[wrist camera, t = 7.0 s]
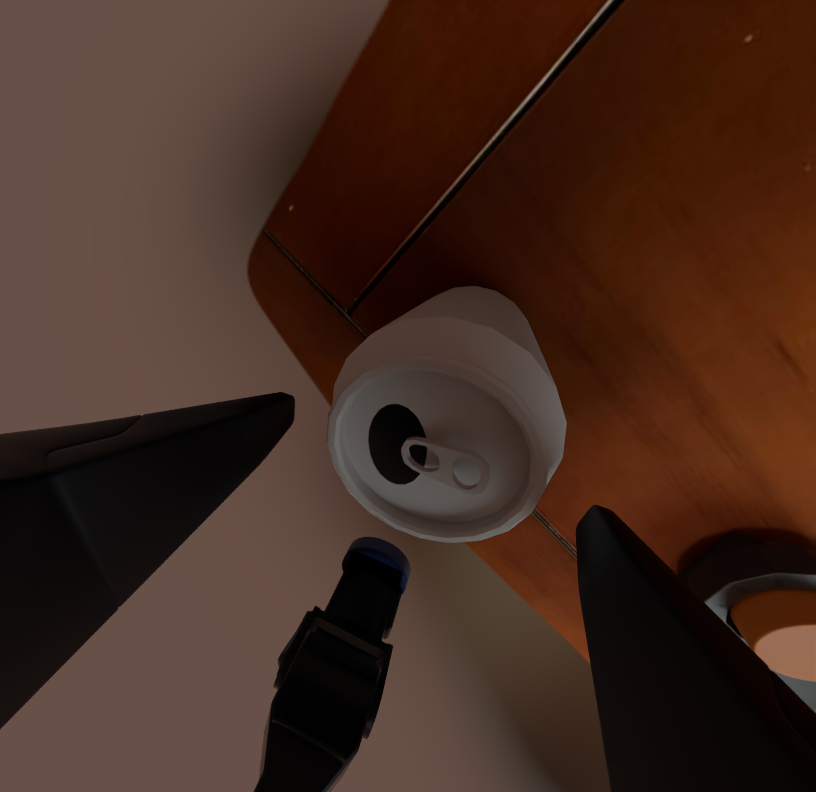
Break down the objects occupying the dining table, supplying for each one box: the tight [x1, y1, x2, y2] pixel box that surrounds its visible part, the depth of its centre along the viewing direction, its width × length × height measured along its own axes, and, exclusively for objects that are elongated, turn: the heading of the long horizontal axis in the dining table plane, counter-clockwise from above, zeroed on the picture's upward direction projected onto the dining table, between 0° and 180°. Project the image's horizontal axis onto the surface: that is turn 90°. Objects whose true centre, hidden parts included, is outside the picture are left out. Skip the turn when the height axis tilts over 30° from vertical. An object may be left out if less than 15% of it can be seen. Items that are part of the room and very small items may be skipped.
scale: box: [678, 532, 816, 713], centre depth 19 cm, size 16×14×3 cm
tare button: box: [730, 588, 816, 682], centre depth 16 cm, size 5×5×2 cm
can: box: [327, 286, 567, 543], centre depth 13 cm, size 8×8×12 cm
